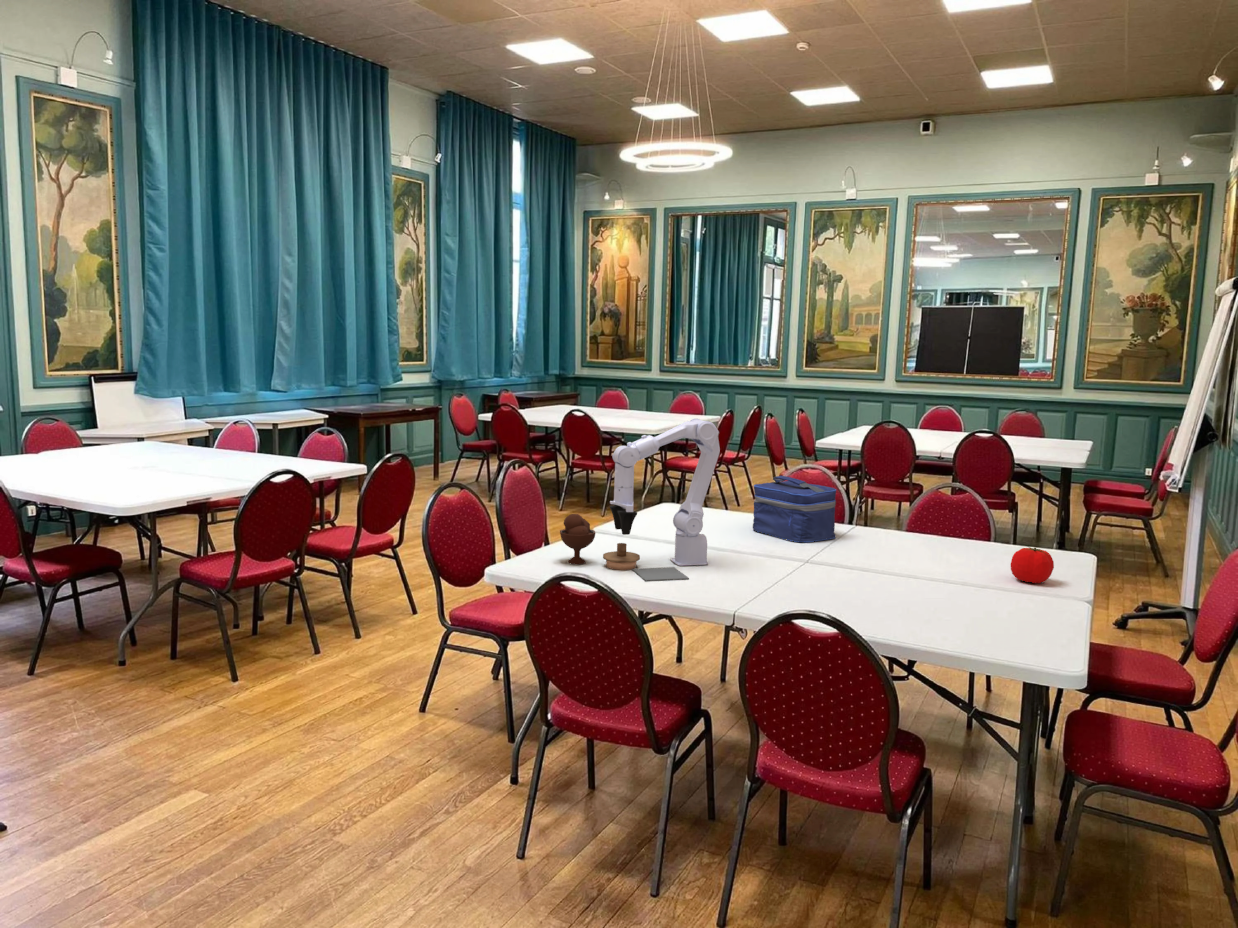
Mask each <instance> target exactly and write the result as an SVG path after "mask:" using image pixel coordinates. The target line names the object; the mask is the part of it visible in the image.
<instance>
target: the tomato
mask: <svg viewBox="0 0 1238 928" xmlns="http://www.w3.org/2000/svg"><path fill="white" fill-rule="evenodd" d="M1011 557H1012V558H1011V561H1010V571H1011V574H1012V575H1013V576H1014V577H1015V579H1017V580H1019V581H1021V580H1022V581H1021V582H1023V581H1025V582H1024V583H1028V582H1032V583H1031V584H1042V583H1041V582H1043V583H1045V582H1046V581H1047V580H1049V578H1050V577H1051V576H1052V573H1053V570H1054V568H1055V567H1054V566H1055V563H1054V559H1053V557H1052V555H1051V554H1050V553H1049V552H1048V551H1047V550H1044V549H1041V548H1037V547H1033V548H1032V547H1030V546H1028V545H1027V547H1023V548H1020V549H1019V550H1017V551H1015V552H1014V554H1012V556H1011Z"/></svg>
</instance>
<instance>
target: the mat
mask: <svg viewBox="0 0 1238 928" xmlns="http://www.w3.org/2000/svg"><path fill="white" fill-rule="evenodd" d="M631 571H633V572H634V573H635V574H636V575H637V576H638V577H639V578H640V579H642V580H643V581H644V582H661V581H663V582H664V581H683V580H684V581H685V580H690V578H689V577H688V576H687V575H685V574H684V573H683V572H681V570H679V569H677V568H676V567H674V566H672V567H671V566H666V567H642V568H634V569H631Z"/></svg>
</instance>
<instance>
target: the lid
mask: <svg viewBox="0 0 1238 928" xmlns="http://www.w3.org/2000/svg"><path fill="white" fill-rule="evenodd" d="M627 546H628V545H627V543H626V542H619V543H617V544H616V550H615V551H608V552H605V553H603V554H602V558H603V560H605V561H606V560H607V561H611V562H622V563H625V562H635V561H636V562H637V561H639V560H640V559H641V555H640V554H638V553H636V552H632V551H627Z"/></svg>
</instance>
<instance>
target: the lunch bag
mask: <svg viewBox="0 0 1238 928" xmlns="http://www.w3.org/2000/svg"><path fill="white" fill-rule="evenodd" d="M772 480H773V481H772V482H764V483H755V484H754V485H753V492H754V500H753V520H752V521H753V523H752V531H754V530H755V531H757V532H756V533H759V532H762V533H761V534H763V533H765V534H764V535H767V534H769V535H768V536H771V535H772V536H771V537H775V538H778V537H779V538H778V539H781V538H782V539H781V540H784V539H787V540H786V541H788V540H790V541H789V542H792V541H794V543H799V542H804V543H813V542H814V541H815V542H820V541H827V540H832V539H833V540H834V539H836V533H835V526H836V524H835V523H836V522H835V520H836V517H835V515H836V505H837V500H836V495H837V489H836V488H835V487H830V486H825V485H820V484H812V483H807V482H806V481H805V480H801V479H798V478H794V477H790V476H784V475H778V476H774V477H773V479H772ZM755 531H754V532H755Z"/></svg>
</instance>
